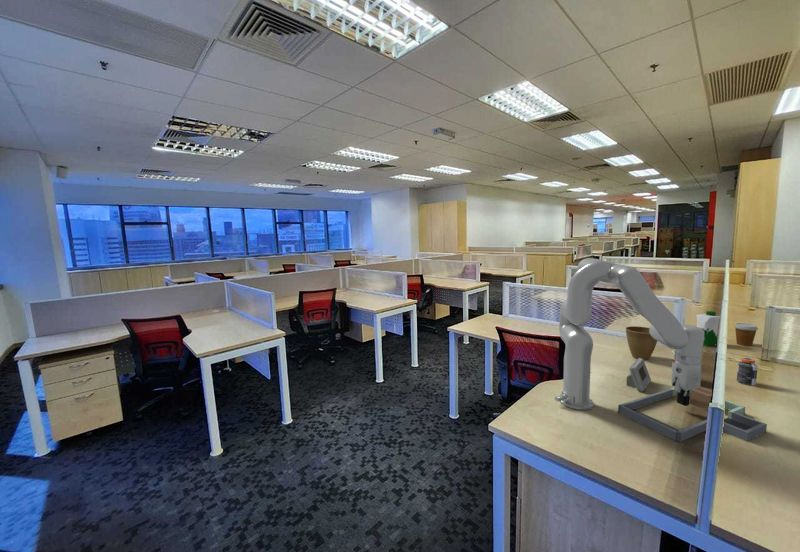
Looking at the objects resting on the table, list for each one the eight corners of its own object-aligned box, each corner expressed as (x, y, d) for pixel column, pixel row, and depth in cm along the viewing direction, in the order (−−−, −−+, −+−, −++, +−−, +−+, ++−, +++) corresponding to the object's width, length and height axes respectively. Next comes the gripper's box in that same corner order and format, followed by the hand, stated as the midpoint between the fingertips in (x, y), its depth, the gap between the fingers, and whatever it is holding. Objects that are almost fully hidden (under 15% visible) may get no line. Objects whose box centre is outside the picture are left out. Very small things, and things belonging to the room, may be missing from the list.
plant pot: (664, 363, 167) (666, 333, 165) (633, 362, 170) (634, 333, 168) (647, 353, 182) (648, 325, 180) (618, 352, 184) (620, 325, 182)
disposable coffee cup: (728, 343, 193) (730, 324, 191) (738, 341, 195) (740, 322, 194) (750, 348, 184) (751, 328, 182) (760, 345, 186) (762, 326, 185)
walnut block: (708, 410, 122) (709, 396, 121) (689, 403, 128) (690, 389, 127) (717, 407, 124) (718, 392, 123) (698, 400, 130) (699, 386, 129)
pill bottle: (760, 386, 139) (762, 361, 138) (743, 385, 140) (746, 361, 139) (748, 380, 145) (750, 356, 144) (732, 379, 146) (734, 356, 145)
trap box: (711, 458, 96) (712, 449, 96) (618, 412, 123) (618, 405, 123) (777, 426, 111) (778, 418, 110) (681, 391, 137) (681, 384, 137)
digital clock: (641, 393, 136) (643, 370, 135) (618, 386, 144) (619, 363, 143) (658, 384, 145) (660, 361, 143) (636, 377, 152) (637, 355, 151)
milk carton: (720, 345, 189) (722, 313, 187) (707, 347, 187) (710, 314, 185) (703, 341, 197) (706, 309, 195) (691, 342, 196) (694, 311, 194)
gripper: (687, 364, 113) (682, 413, 115) (711, 359, 119) (706, 405, 121) (663, 357, 120) (659, 403, 122) (687, 352, 125) (682, 396, 128)
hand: (682, 404), depth 122 cm, fingers closed
